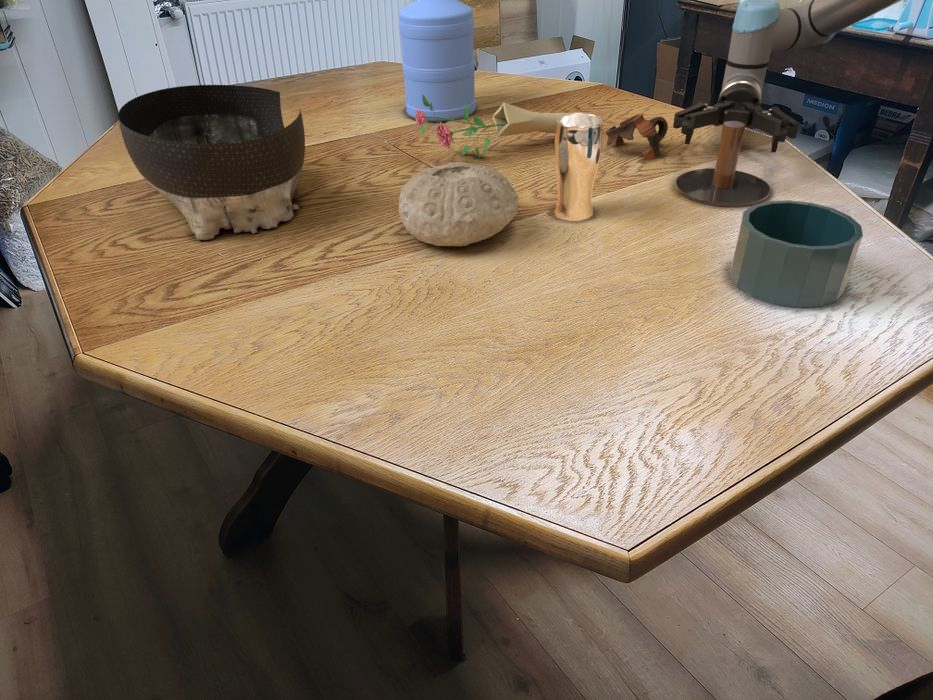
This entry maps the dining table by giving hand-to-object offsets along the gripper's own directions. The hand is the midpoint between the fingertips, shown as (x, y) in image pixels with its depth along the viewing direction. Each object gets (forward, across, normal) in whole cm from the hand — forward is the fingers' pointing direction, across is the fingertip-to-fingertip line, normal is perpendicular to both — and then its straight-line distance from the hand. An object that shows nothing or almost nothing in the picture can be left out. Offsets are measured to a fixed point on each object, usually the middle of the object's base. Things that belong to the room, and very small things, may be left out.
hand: (730, 140), depth 112 cm
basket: (+31, +78, -8) cm, 84 cm away
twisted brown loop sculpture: (-10, +16, -8) cm, 20 cm away
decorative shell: (+31, +36, -8) cm, 48 cm away
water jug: (-24, +62, -8) cm, 67 cm away
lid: (+4, 0, -7) cm, 8 cm away
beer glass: (+20, +21, -8) cm, 30 cm away
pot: (+32, -10, -7) cm, 34 cm away
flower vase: (-4, +40, -8) cm, 41 cm away
